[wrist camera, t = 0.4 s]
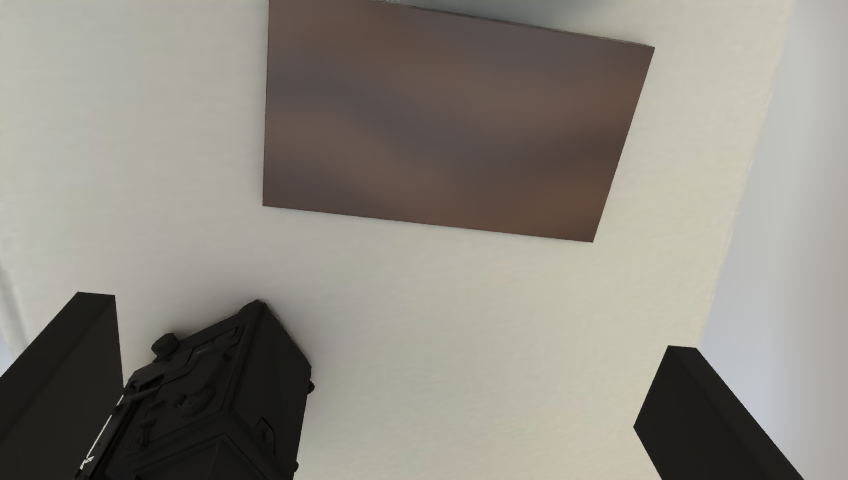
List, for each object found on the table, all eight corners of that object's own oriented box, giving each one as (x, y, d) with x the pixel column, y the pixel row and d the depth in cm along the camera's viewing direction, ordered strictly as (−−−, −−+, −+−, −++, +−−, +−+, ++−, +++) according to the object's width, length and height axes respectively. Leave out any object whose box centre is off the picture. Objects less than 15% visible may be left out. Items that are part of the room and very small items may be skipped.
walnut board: (273, -17, 34) (269, -16, 32) (645, 44, 37) (655, 47, 36) (266, 197, 40) (262, 205, 38) (586, 234, 43) (593, 242, 42)
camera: (113, 351, 45) (-67, 615, 27) (259, 282, 43) (173, 515, 25) (189, 432, 49) (79, 706, 31) (326, 373, 47) (293, 627, 29)
